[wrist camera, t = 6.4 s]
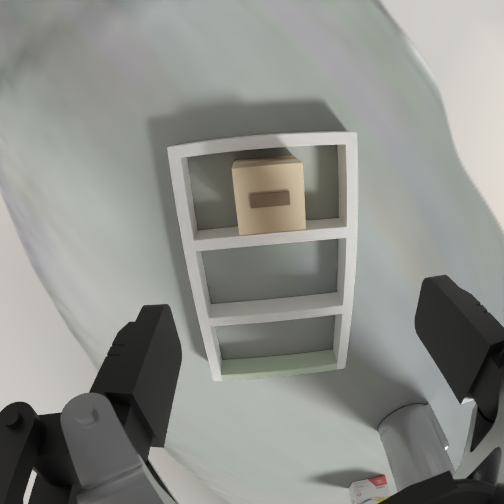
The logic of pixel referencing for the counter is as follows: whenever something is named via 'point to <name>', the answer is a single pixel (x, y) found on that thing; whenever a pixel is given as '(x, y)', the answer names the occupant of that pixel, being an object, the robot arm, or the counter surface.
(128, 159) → the counter surface
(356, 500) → the ink cartridge box
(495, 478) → the robot arm
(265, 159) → the beech letter block
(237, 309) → the divider frame
